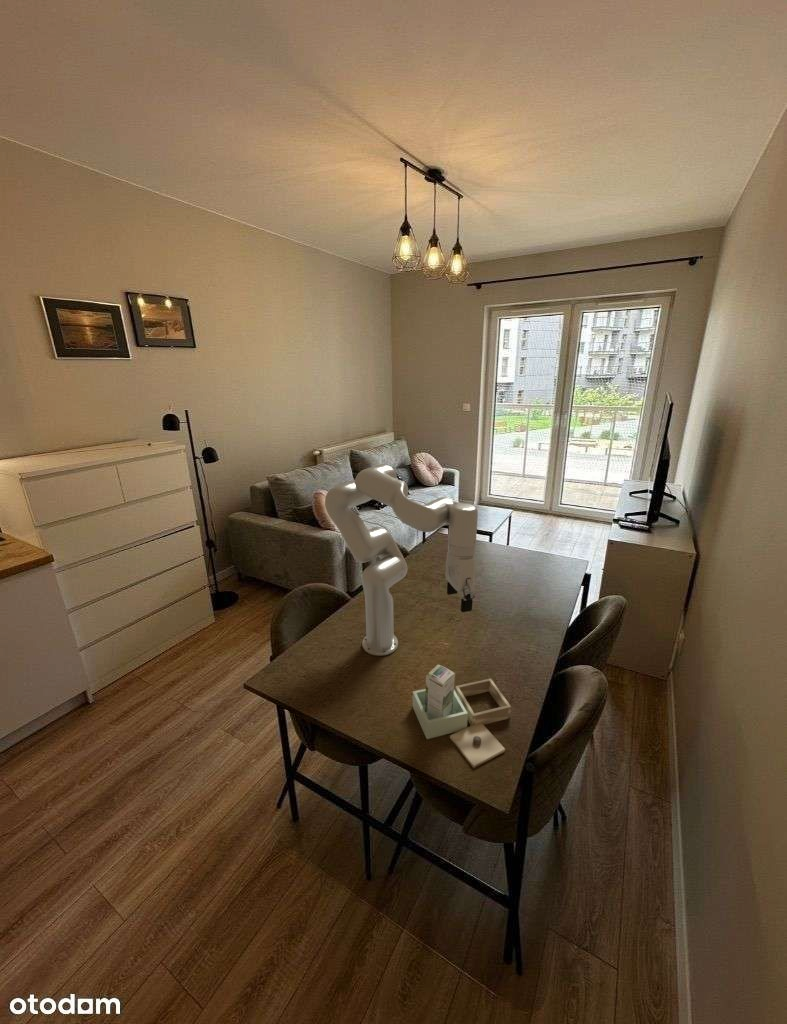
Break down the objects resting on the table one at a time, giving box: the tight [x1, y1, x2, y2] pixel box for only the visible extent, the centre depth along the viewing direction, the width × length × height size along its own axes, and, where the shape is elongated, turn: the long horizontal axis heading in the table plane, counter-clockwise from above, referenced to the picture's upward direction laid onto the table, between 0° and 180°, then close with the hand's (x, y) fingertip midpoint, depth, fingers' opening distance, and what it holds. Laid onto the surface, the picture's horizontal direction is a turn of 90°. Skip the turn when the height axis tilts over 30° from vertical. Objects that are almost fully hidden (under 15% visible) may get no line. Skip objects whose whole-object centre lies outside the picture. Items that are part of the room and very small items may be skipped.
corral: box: [454, 678, 512, 726], centre depth 119 cm, size 12×12×4 cm
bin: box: [412, 688, 468, 740], centre depth 116 cm, size 12×12×6 cm
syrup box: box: [425, 664, 456, 720], centre depth 114 cm, size 6×6×14 cm
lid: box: [449, 723, 506, 769], centre depth 108 cm, size 10×10×2 cm
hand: (458, 602), depth 121 cm, fingers open, 9 cm apart
